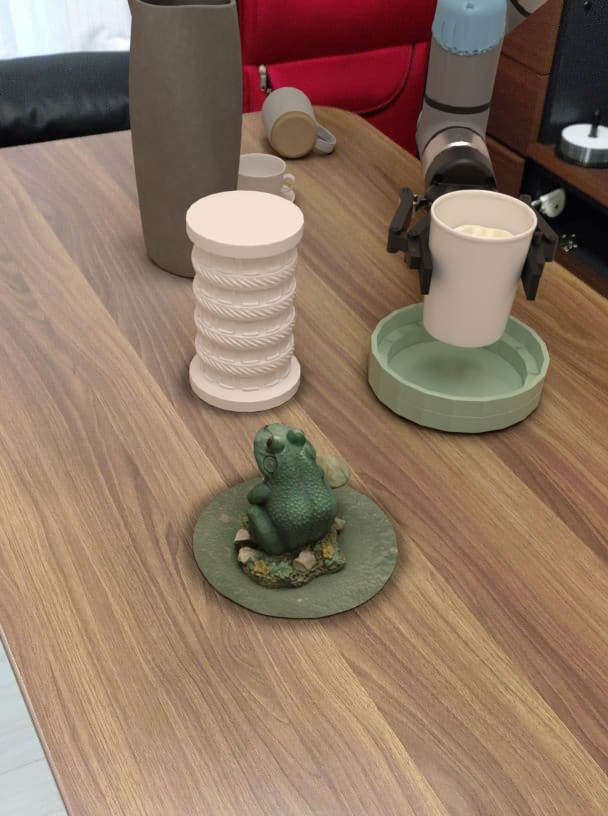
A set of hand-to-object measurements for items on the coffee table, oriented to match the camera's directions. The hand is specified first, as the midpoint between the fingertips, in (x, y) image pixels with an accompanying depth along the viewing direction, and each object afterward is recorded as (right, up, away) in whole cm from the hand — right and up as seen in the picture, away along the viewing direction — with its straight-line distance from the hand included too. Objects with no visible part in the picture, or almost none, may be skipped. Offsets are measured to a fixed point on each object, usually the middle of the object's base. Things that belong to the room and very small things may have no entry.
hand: (480, 284), depth 90 cm
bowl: (0, -7, +13) cm, 15 cm away
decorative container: (-22, -7, +12) cm, 26 cm away
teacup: (-22, +23, +42) cm, 53 cm away
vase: (-30, +10, +29) cm, 43 cm away
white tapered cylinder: (0, -2, +8) cm, 9 cm away
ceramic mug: (-17, +34, +54) cm, 67 cm away
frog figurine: (-17, -24, -5) cm, 30 cm away
